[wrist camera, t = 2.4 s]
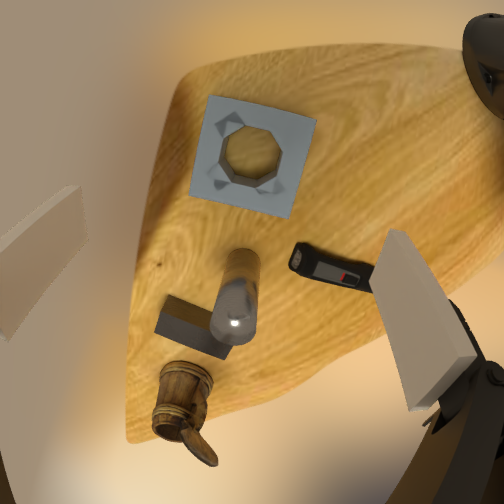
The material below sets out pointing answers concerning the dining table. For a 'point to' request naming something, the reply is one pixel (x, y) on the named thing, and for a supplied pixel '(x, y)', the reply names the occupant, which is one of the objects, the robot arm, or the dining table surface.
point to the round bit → (237, 299)
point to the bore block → (243, 188)
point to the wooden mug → (184, 408)
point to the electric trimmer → (330, 269)
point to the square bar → (189, 327)
